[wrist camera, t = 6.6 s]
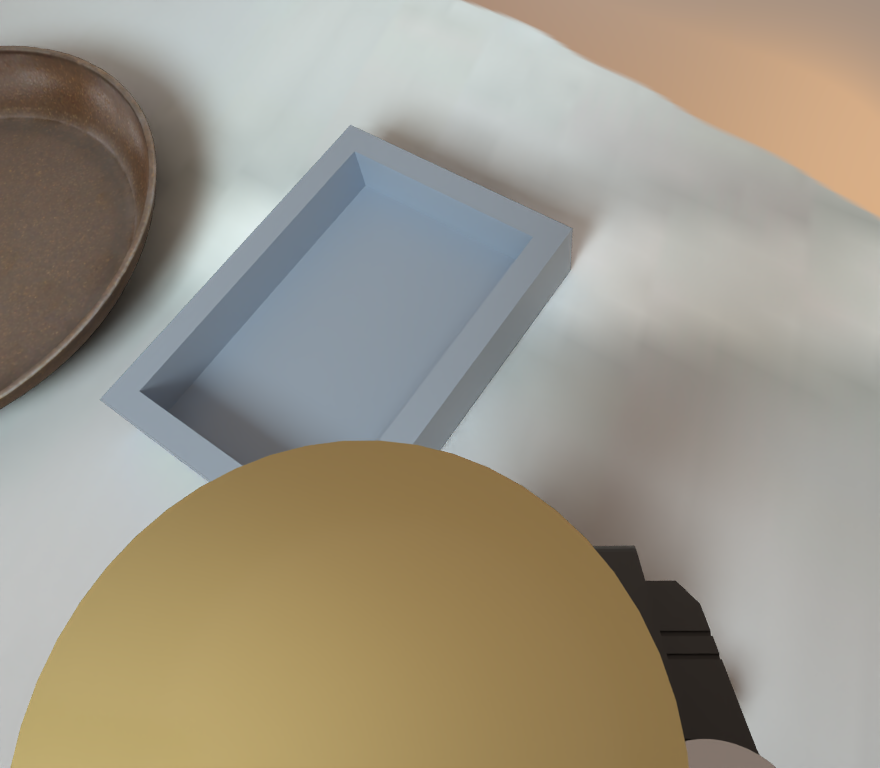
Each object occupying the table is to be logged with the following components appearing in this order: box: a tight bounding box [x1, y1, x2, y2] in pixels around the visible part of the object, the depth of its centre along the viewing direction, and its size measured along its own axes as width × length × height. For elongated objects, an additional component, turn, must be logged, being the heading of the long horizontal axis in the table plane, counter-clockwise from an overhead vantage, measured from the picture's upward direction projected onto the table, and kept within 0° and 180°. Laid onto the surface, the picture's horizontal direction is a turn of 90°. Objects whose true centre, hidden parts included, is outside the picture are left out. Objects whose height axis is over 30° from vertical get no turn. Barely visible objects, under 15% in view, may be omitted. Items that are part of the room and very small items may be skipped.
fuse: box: [11, 440, 689, 768], centre depth 10 cm, size 4×4×12 cm
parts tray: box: [100, 125, 573, 482], centre depth 27 cm, size 10×14×3 cm
